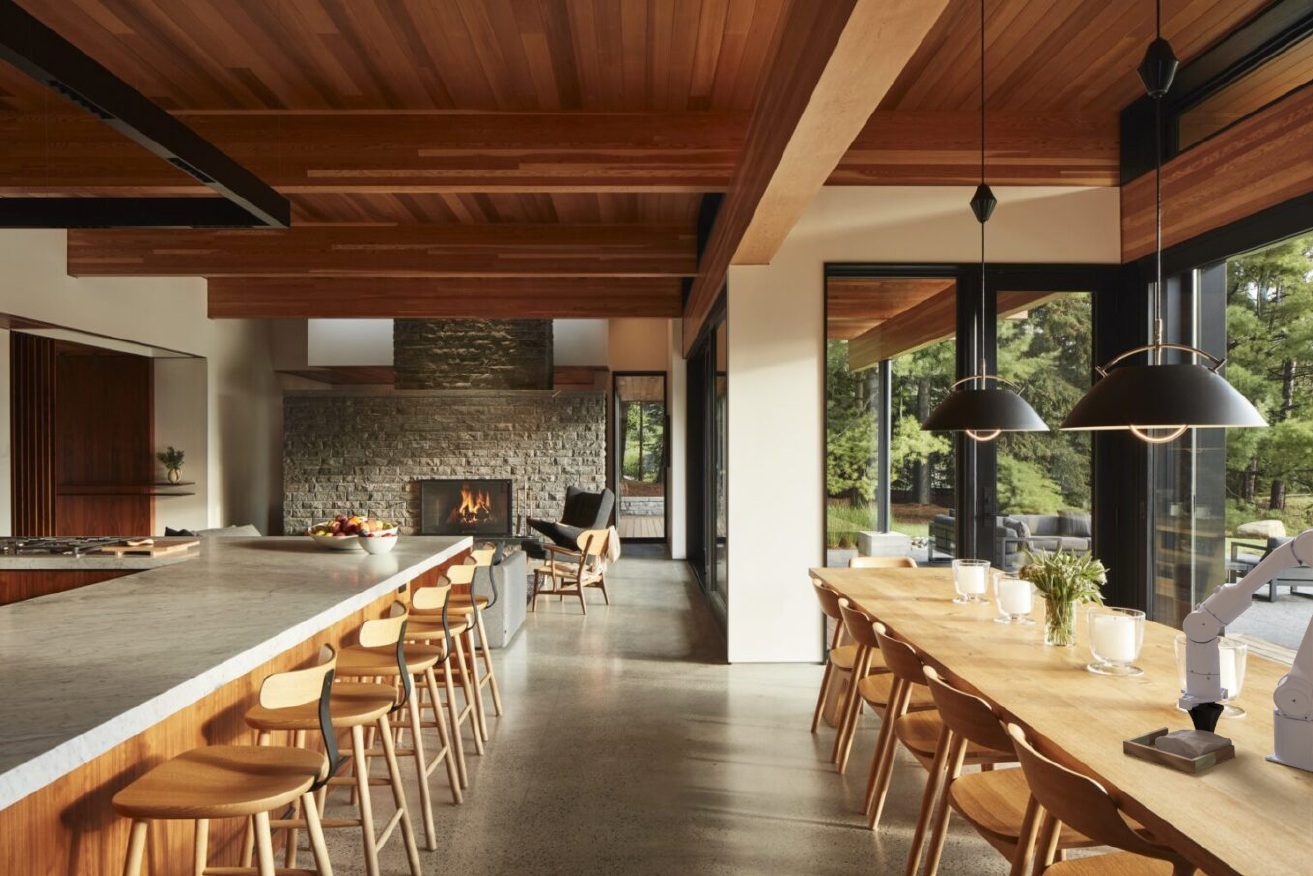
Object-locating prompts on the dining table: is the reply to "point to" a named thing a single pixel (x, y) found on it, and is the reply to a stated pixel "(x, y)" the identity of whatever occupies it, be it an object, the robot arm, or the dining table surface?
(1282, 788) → the dining table surface
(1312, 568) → the robot arm
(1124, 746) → the guide slot
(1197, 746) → the stone block
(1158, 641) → the dining table surface
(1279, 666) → the dining table surface
